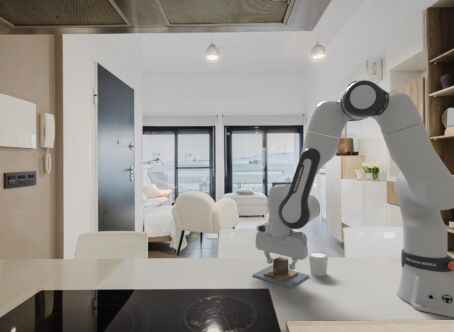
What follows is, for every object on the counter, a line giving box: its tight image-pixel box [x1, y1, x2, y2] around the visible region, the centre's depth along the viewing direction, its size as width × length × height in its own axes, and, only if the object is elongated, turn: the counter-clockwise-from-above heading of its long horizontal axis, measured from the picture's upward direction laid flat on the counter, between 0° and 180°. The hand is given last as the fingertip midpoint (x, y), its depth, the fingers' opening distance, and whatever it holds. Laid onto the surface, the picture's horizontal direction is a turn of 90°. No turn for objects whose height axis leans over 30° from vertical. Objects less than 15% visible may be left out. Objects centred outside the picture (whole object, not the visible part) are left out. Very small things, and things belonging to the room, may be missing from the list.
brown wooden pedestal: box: [264, 256, 298, 282], centre depth 106 cm, size 9×9×6 cm
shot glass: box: [308, 251, 329, 277], centre depth 109 cm, size 7×7×7 cm
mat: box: [252, 264, 310, 289], centre depth 106 cm, size 16×13×1 cm
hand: (280, 266), depth 106 cm, fingers open, 8 cm apart
